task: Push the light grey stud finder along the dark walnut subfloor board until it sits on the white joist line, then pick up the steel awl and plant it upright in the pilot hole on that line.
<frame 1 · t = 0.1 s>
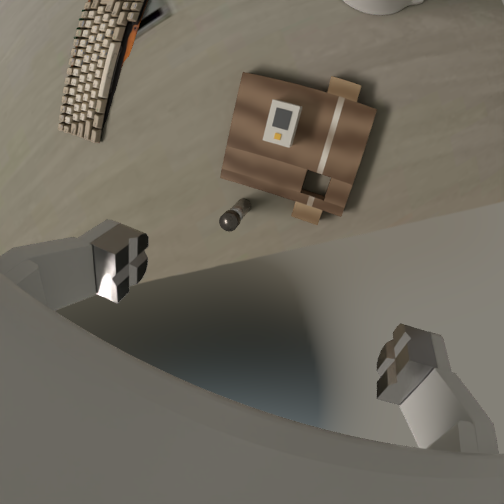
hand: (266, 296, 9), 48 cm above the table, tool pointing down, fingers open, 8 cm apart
mechanical keyboard: (99, 63, 55), on the table
subfloor board: (296, 141, 52), on the table
stud finder: (284, 122, 49), point 2 cm above the table, touching subfloor board
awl: (243, 205, 61), on the table
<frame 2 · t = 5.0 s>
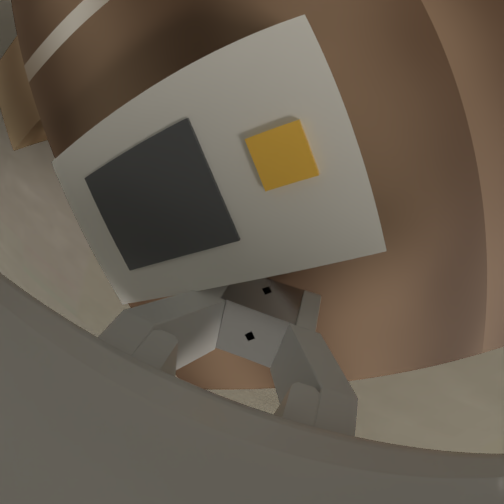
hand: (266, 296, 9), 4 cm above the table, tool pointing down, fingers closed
subfloor board: (308, 61, 9), on the table
stud finder: (231, 161, 9), point 3 cm above the table, touching gripper
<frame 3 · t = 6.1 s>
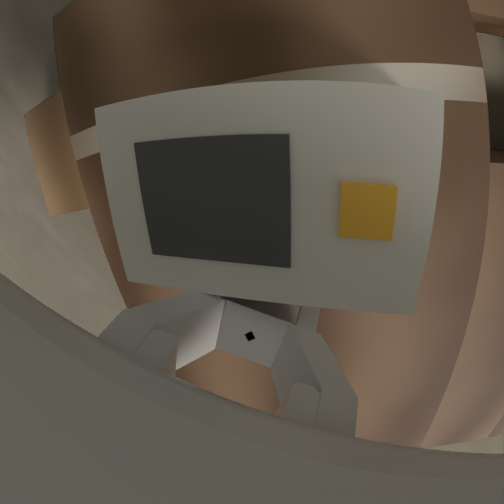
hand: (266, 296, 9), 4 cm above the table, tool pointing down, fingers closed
subfloor board: (366, 237, 11), on the table
stud finder: (280, 168, 8), point 3 cm above the table, touching gripper, subfloor board
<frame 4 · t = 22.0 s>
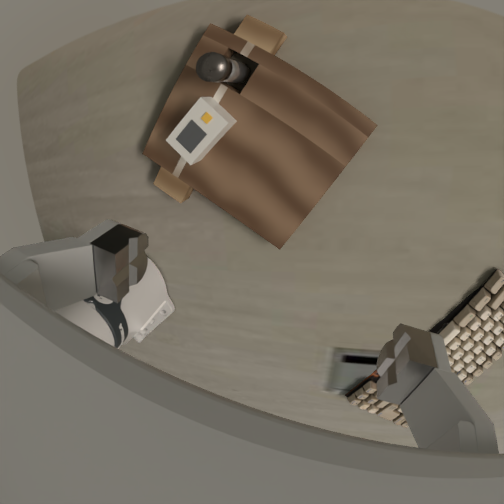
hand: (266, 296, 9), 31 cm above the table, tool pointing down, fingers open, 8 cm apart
mechanical keyboard: (443, 356, 45), on the table
subfloor board: (252, 132, 37), on the table
stud finder: (205, 128, 36), point 3 cm above the table, touching subfloor board
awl: (239, 72, 34), resting in subfloor board
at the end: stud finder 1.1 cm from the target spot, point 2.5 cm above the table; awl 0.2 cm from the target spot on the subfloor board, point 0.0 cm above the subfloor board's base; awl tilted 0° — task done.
